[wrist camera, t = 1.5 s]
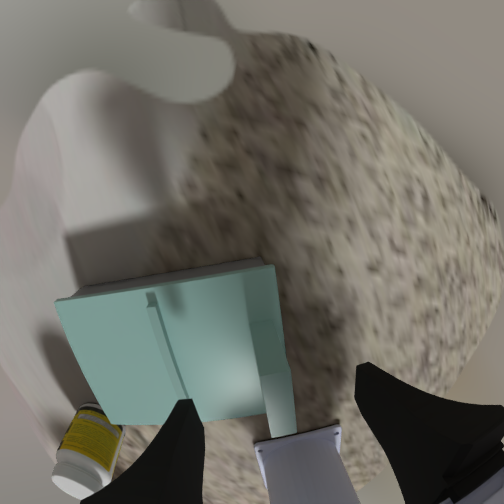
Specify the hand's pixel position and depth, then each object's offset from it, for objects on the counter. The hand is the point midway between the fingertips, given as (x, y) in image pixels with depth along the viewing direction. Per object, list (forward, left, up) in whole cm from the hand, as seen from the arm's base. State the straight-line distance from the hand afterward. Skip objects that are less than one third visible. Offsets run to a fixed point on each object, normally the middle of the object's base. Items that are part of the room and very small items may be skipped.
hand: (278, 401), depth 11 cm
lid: (0, +5, -5) cm, 7 cm away
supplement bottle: (-8, +15, -8) cm, 19 cm away
